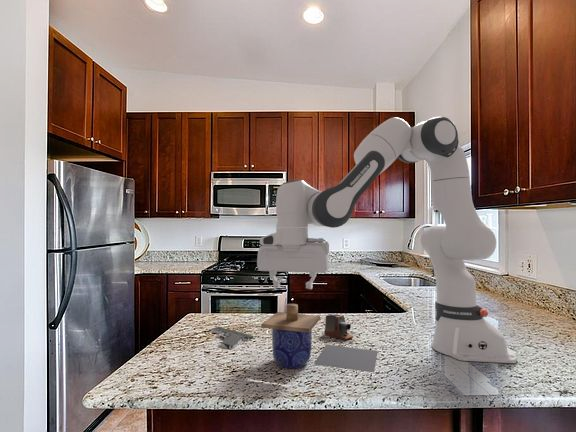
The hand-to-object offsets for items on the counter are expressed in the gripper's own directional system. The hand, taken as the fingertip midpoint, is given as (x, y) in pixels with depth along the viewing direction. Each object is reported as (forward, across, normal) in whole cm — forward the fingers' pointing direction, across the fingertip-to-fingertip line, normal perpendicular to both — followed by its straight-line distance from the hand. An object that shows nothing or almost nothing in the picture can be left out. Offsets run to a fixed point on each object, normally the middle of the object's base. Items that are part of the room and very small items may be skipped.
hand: (292, 288), depth 93 cm
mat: (+21, -14, -9) cm, 27 cm away
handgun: (+21, +29, -13) cm, 38 cm away
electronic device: (+22, -8, -26) cm, 35 cm away
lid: (+10, 0, 0) cm, 10 cm away
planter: (+21, 0, 0) cm, 21 cm away
